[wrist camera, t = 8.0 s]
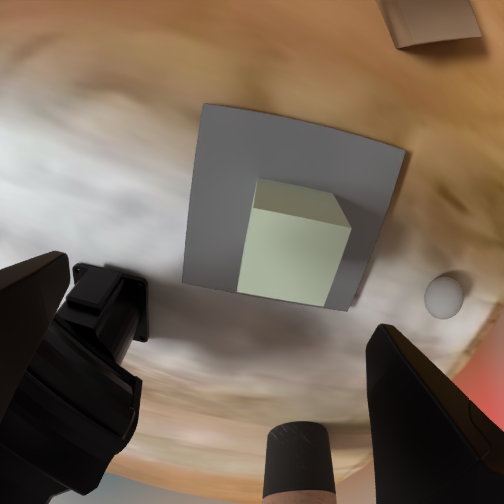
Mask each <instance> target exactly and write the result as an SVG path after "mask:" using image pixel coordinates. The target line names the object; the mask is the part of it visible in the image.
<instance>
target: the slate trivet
mask: <svg viewBox="0 0 504 504" xmlns="http://www.w3.org/2000/svg"><path fill="white" fill-rule="evenodd" d="M405 152H406V151H405V150H403V149H401V148H399V147H396V146H393V145H390V144H386V143H383V142H380V141H377V140H374V139H370V138H367V137H364V136H360V135H357V134H353V133H350V132H346V131H342V130H339V129H335V128H331V127H327V126H323V125H319V124H315V123H311V122H307V121H302V120H298V119H293V118H289V117H284V116H279V115H274V114H269V113H264V112H259V111H253V110H247V109H241V108H235V107H229V106H222V105H215V104H208V103H204V104H203V106H202V113H201V119H200V126H199V132H198V139H197V146H196V153H195V161H194V169H193V177H192V185H191V193H190V202H189V211H188V221H187V231H186V241H185V252H184V264H183V277H182V283H186V284H191V285H196V286H201V287H206V288H211V289H216V290H221V291H227V292H232V293H238V294H243V295H249V296H254V297H260V298H266V299H271V300H277V301H283V302H289V303H295V304H301V305H307V306H314V307H320V308H326V309H333V310H339V311H346V312H347V311H348V309H349V307H350V304H351V302H352V300H353V297H354V295H355V293H356V290H357V288H358V286H359V283H360V281H361V278H362V276H363V273H364V271H365V268H366V266H367V263H368V261H369V258H370V256H371V253H372V250H373V248H374V245H375V243H376V240H377V237H378V234H379V232H380V229H381V226H382V223H383V221H384V218H385V215H386V212H387V209H388V206H389V203H390V200H391V197H392V194H393V191H394V188H395V185H396V182H397V178H398V175H399V172H400V169H401V165H402V162H403V159H404V155H405ZM257 178H263V179H268V180H273V181H278V182H283V183H288V184H293V185H297V186H302V187H307V188H311V189H316V190H320V191H324V192H329V193H333V195H334V197H335V198H336V200H337V202H338V204H339V206H340V208H341V209H342V211H343V213H344V215H345V217H346V219H347V220H348V222H349V224H350V226H351V228H352V229H351V232H350V235H349V238H348V241H347V244H346V246H345V249H344V252H343V255H342V258H341V261H340V264H339V266H338V269H337V272H336V275H335V277H334V280H333V283H332V285H331V288H330V291H329V293H328V296H327V299H326V301H325V304H324V306H323V307H322V306H316V305H310V304H304V303H298V302H292V301H286V300H280V299H274V298H268V297H263V296H257V295H251V294H246V293H240V292H237V287H238V281H239V275H240V269H241V263H242V257H243V250H244V245H245V239H246V234H247V229H248V224H249V219H250V214H251V209H252V204H253V199H254V194H255V188H256V183H257Z"/></svg>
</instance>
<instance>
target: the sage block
mask: <svg viewBox="0 0 504 504" xmlns="http://www.w3.org/2000/svg"><path fill="white" fill-rule="evenodd" d="M351 229H352V228H351V226H350V224H349V222H348V220H347V219H346V217H345V215H344V213H343V211H342V209H341V208H340V206H339V204H338V202H337V200H336V198H335V197H334V195H333V193H329V192H324V191H320V190H316V189H311V188H307V187H302V186H297V185H293V184H288V183H283V182H278V181H273V180H268V179H263V178H257V183H256V188H255V194H254V199H253V204H252V209H251V214H250V219H249V224H248V229H247V234H246V239H245V245H244V250H243V257H242V263H241V269H240V275H239V281H238V287H237V292H240V293H246V294H251V295H257V296H263V297H268V298H274V299H280V300H286V301H292V302H298V303H304V304H310V305H316V306H322V307H323V306H324V304H325V301H326V299H327V296H328V293H329V291H330V288H331V285H332V283H333V280H334V277H335V275H336V272H337V269H338V266H339V264H340V261H341V258H342V255H343V252H344V249H345V246H346V244H347V241H348V238H349V235H350V232H351Z"/></svg>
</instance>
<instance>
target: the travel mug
mask: <svg viewBox="0 0 504 504" xmlns="http://www.w3.org/2000/svg"><path fill="white" fill-rule="evenodd" d="M262 504H336V491H335V482H334V474H333V466H332V458H331V451H330V443H329V437H328V432H327V430H326V428H325V427H323V426H322V425H320V424H317V423H313V422H291V423H286V424H282V425H280V426H277V427H275V428H274V429H272V430H271V431H270V432H269V434H268V438H267V449H266V462H265V475H264V487H263V500H262Z"/></svg>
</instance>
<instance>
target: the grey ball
mask: <svg viewBox="0 0 504 504" xmlns="http://www.w3.org/2000/svg"><path fill="white" fill-rule="evenodd" d="M424 301H425V306H426V308H427V310H428V312H429V313H430V314H431V315H432V316H434V317H435V318H438V319H448V318H451V317H453V316H454V315H456V314H457V313H458V311H459V310H460V308H461V306H462V304H463V290H462V288H461V286H460V284H459V283H458V282H457V281H456V280H455V279H453V278H451V277H439V278H437V279H435V280H433V281H432V282H431V283H430V284H429V286H428V287H427V289H426V292H425V296H424Z"/></svg>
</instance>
